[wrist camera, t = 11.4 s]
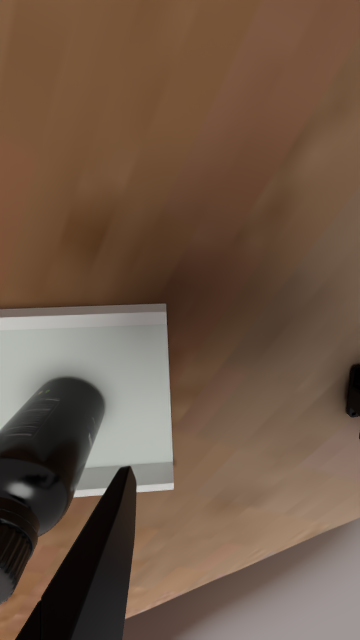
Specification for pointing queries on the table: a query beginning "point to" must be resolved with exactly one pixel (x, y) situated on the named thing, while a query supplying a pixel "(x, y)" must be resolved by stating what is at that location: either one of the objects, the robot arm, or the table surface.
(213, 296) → the table surface
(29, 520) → the supplement bottle
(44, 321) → the tray
